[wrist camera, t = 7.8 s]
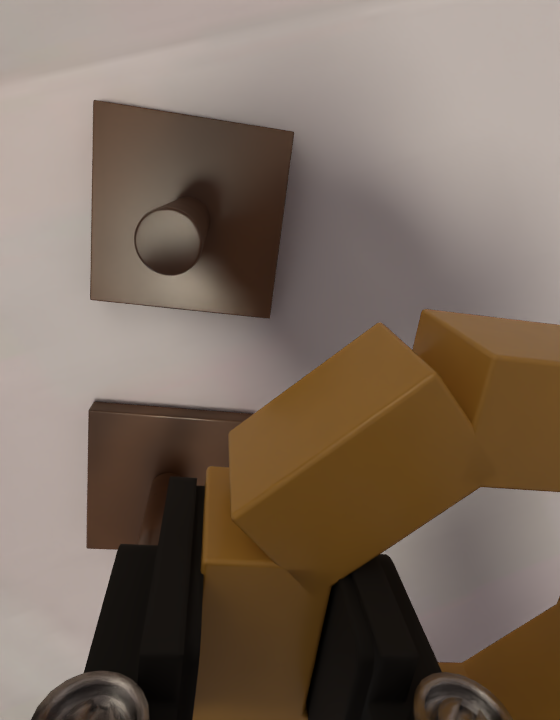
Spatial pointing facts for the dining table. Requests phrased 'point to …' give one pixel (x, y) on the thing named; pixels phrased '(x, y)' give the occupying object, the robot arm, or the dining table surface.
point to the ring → (372, 501)
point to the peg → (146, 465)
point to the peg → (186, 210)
